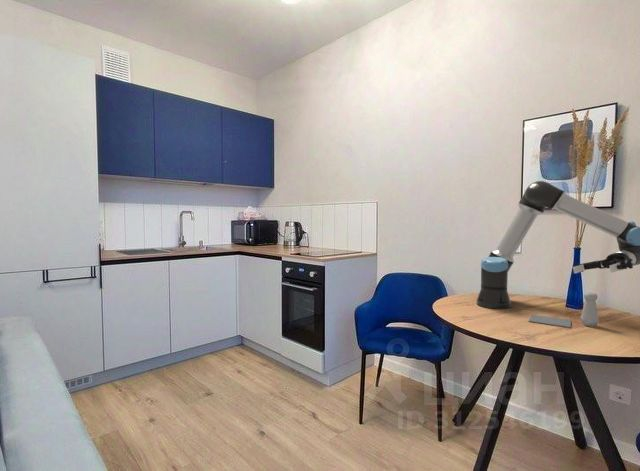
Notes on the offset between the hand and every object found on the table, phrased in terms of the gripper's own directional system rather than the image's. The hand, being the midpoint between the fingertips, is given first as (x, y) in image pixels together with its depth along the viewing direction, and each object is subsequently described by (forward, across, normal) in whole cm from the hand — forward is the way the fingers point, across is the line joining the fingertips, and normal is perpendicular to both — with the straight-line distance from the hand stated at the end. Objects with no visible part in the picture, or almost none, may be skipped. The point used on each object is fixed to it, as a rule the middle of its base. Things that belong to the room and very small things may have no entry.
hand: (591, 269), depth 141 cm
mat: (+18, +10, -18) cm, 27 cm away
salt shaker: (+9, +1, -21) cm, 23 cm away
